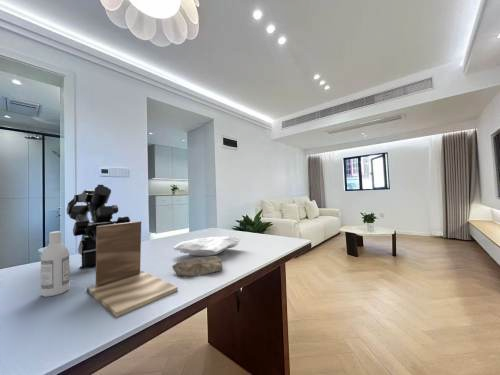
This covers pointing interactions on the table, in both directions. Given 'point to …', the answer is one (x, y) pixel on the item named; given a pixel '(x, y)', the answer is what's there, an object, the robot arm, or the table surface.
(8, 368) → the table surface
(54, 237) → the bath foam
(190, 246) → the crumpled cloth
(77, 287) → the table surface
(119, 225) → the walnut plank
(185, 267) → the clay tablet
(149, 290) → the oak floor board
